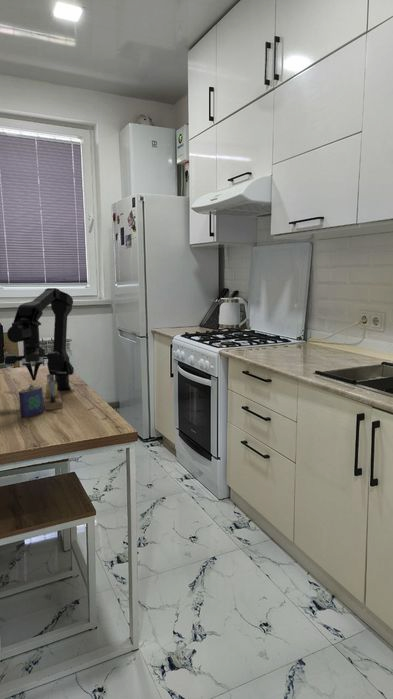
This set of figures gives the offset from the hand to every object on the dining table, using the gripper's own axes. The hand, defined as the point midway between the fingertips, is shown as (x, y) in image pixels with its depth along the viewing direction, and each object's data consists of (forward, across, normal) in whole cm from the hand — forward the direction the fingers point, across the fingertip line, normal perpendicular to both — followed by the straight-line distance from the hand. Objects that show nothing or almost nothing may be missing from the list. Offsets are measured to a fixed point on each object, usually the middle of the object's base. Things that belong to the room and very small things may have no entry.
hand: (34, 380), depth 169 cm
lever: (+6, +6, -3) cm, 9 cm away
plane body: (+8, +6, -2) cm, 11 cm away
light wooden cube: (+6, +6, 0) cm, 9 cm away
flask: (+9, -1, -17) cm, 19 cm away
